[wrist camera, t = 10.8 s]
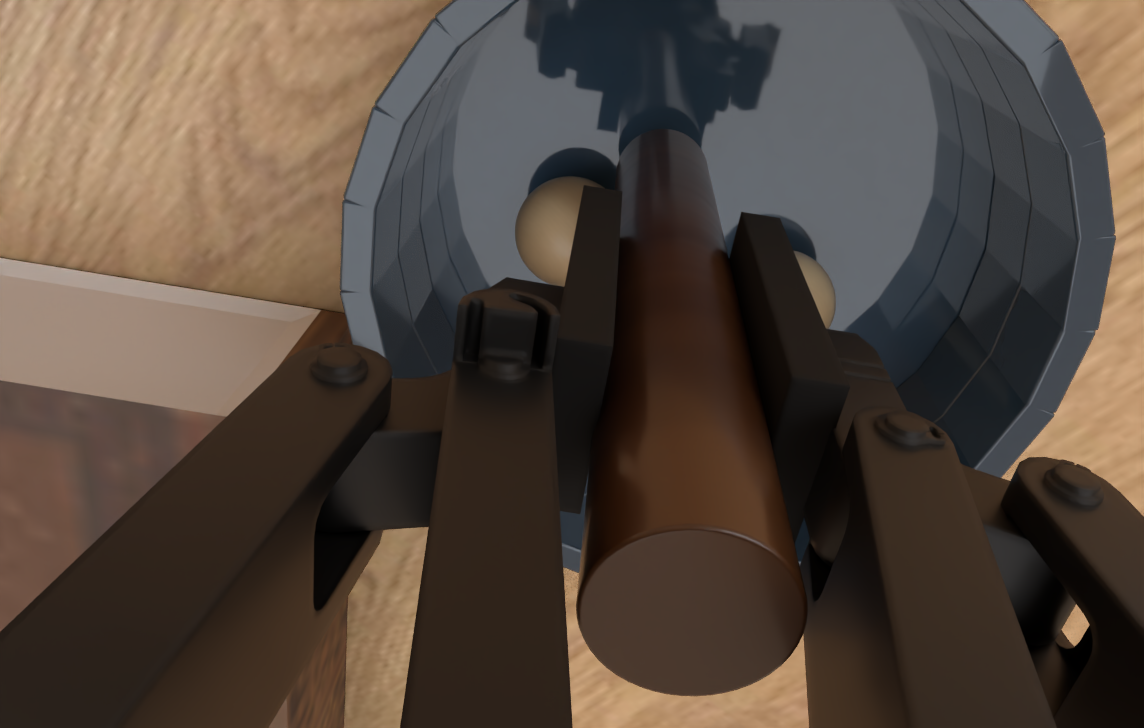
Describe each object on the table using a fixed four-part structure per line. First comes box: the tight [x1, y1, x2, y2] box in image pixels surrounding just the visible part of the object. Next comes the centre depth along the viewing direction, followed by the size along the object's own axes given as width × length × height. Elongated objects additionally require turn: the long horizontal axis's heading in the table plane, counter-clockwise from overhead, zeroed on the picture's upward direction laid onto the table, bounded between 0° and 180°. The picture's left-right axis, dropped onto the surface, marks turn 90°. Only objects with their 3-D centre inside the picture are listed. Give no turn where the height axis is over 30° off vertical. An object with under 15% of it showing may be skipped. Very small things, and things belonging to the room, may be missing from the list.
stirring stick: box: [576, 129, 808, 696], centre depth 16 cm, size 2×2×16 cm
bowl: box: [340, 0, 1116, 573], centre depth 23 cm, size 18×18×6 cm
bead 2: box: [794, 251, 836, 329], centre depth 24 cm, size 3×3×3 cm
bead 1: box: [515, 176, 605, 287], centre depth 24 cm, size 3×3×3 cm
